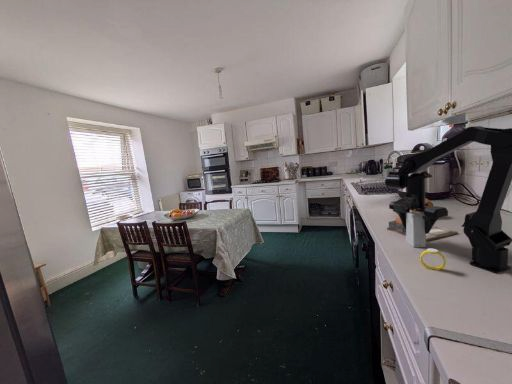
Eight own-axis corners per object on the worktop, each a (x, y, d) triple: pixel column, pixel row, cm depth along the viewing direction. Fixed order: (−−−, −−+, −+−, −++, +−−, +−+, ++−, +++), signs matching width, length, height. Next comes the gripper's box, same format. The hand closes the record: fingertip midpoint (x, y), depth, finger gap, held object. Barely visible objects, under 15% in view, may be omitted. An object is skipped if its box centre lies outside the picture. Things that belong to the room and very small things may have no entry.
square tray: (457, 233, 90) (457, 224, 90) (425, 241, 86) (425, 232, 85) (415, 223, 107) (415, 215, 107) (387, 229, 103) (386, 221, 103)
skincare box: (426, 247, 81) (426, 215, 80) (413, 247, 82) (413, 216, 81) (418, 241, 87) (417, 211, 86) (405, 241, 88) (405, 212, 86)
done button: (407, 224, 98) (407, 217, 98) (401, 225, 97) (401, 218, 97) (401, 222, 101) (401, 216, 101) (396, 223, 100) (395, 217, 100)
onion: (425, 213, 121) (425, 195, 119) (438, 218, 111) (438, 198, 109) (406, 215, 122) (406, 197, 120) (418, 219, 112) (418, 200, 111)
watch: (420, 269, 68) (419, 250, 67) (421, 265, 70) (419, 247, 70) (446, 272, 64) (444, 252, 64) (445, 268, 66) (444, 249, 66)
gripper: (377, 190, 89) (378, 227, 91) (423, 195, 71) (423, 242, 73) (399, 186, 92) (400, 223, 94) (449, 191, 74) (448, 236, 76)
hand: (415, 230), depth 84 cm, fingers open, 8 cm apart
